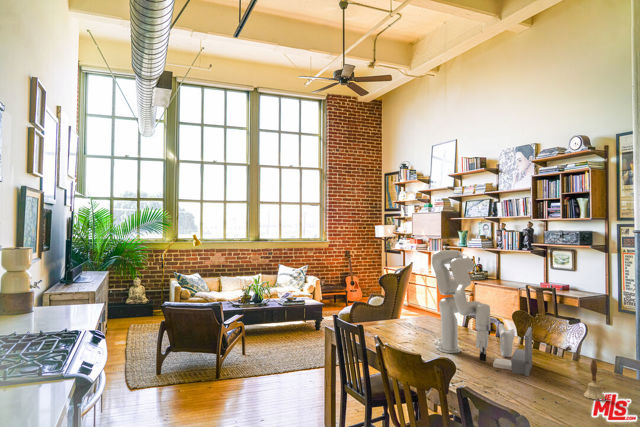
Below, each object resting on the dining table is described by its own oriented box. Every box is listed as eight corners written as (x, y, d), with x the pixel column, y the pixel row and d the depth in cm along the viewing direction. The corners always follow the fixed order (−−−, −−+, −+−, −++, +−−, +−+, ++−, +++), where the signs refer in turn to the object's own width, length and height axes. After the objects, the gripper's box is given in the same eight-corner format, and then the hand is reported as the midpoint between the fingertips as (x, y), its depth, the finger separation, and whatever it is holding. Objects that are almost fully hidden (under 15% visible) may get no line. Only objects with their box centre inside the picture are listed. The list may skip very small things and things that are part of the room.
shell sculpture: (516, 359, 239) (515, 326, 240) (500, 358, 241) (500, 326, 241) (512, 354, 247) (512, 323, 248) (497, 353, 249) (497, 322, 249)
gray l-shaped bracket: (511, 373, 215) (510, 333, 215) (516, 362, 233) (515, 325, 233) (528, 376, 210) (528, 335, 211) (532, 364, 228) (531, 327, 229)
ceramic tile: (493, 367, 225) (493, 363, 226) (496, 362, 234) (496, 358, 234) (526, 373, 217) (526, 368, 217) (528, 367, 226) (528, 362, 226)
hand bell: (579, 393, 189) (578, 357, 189) (596, 393, 190) (595, 356, 190) (592, 401, 181) (591, 363, 181) (610, 400, 181) (610, 362, 182)
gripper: (478, 323, 241) (478, 356, 240) (473, 328, 228) (473, 363, 227) (492, 325, 237) (492, 358, 236) (487, 330, 224) (488, 366, 223)
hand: (482, 360), depth 232 cm, fingers closed
